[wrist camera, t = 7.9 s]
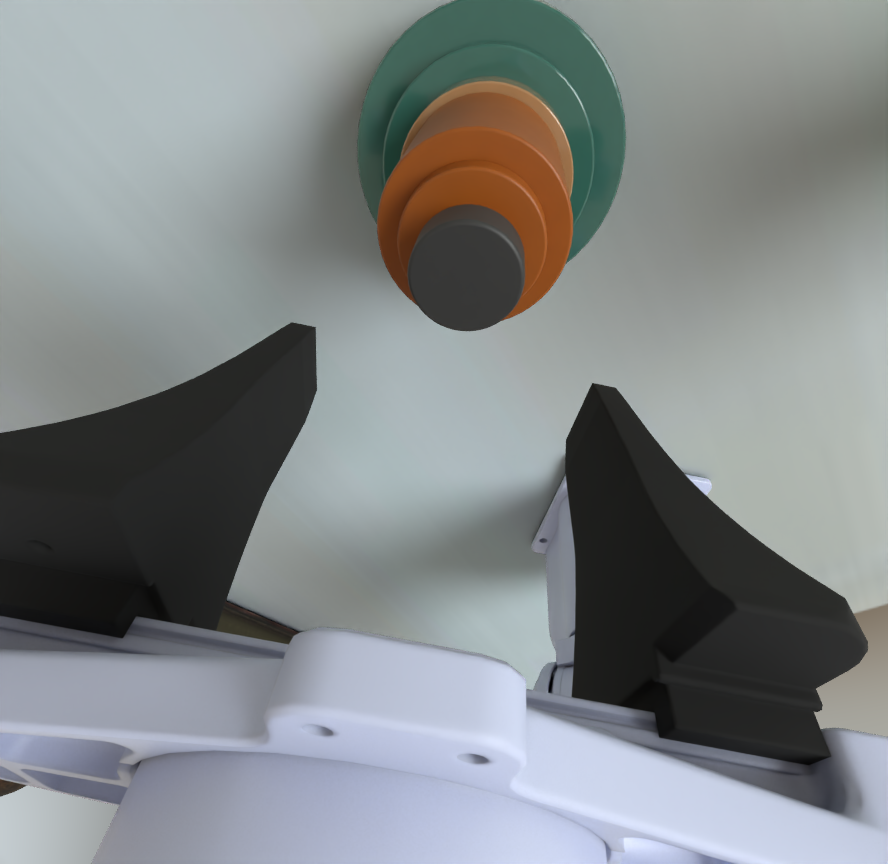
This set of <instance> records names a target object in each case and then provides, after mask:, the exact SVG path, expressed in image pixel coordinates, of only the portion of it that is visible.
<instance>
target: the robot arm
mask: <svg viewBox="0 0 888 864" xmlns="http://www.w3.org/2000/svg"><path fill="white" fill-rule="evenodd" d="M316 391H317V376H316V327H312V326H307V325H302V324H297V323H290V324H288V325H286V326H285V327H283V328H281V329H280V330H278V331H277V332H275V333H273V334H272V335H270V336H269V337H267V338H265V339H264V340H262V341H261V342H259V343H257V344H256V345H254V346H252V347H251V348H249V349H247V350H246V351H244V352H242V353H241V354H239V355H237V356H236V357H234V358H232V359H230V360H228V361H226V362H225V363H223V364H221V365H219V366H217V367H215V368H213V369H211V370H210V371H208V372H206V373H204V374H202V375H200V376H198V377H196V378H194V379H191V380H189V381H187V382H185V383H182V384H180V385H178V386H175V387H173V388H170V389H168V390H165V391H163V392H160V393H158V394H155V395H152V396H149V397H146V398H143V399H140V400H137V401H134V402H131V403H128V404H125V405H122V406H119V407H116V408H113V409H109V410H106V411H102V412H98V413H95V414H91V415H87V416H83V417H79V418H75V419H71V420H66V421H62V422H57V423H53V424H47V425H42V426H37V427H31V428H26V429H21V430H15V431H10V432H4V433H0V779H2V780H6V781H11V782H15V783H20V784H24V785H29V786H33V787H37V788H42V789H46V790H50V791H55V792H59V793H63V794H68V795H72V796H77V797H82V798H86V799H90V800H94V801H99V802H103V803H107V804H112V805H117V806H119V807H118V809H117V812H116V814H115V816H114V818H113V820H112V822H111V824H110V826H109V828H108V830H107V832H106V834H105V836H104V838H103V840H102V842H101V844H100V846H99V849H98V851H97V853H96V855H95V857H94V859H93V861H92V863H91V864H888V737H886V736H881V735H876V734H870V733H864V732H859V731H854V730H849V729H843V728H826V729H820V727H819V724H818V722H817V719H816V717H815V714H814V712H818V711H820V710H822V702H821V700H820V698H819V695H818V693H817V690H816V688H817V687H819V686H821V685H823V684H825V683H827V682H829V681H830V680H832V679H834V678H836V677H838V676H839V675H841V674H843V673H845V672H847V671H848V670H850V669H851V668H853V667H854V666H856V665H857V664H859V663H860V661H861V660H862V658H863V657H864V655H865V654H866V652H867V651H868V641H867V640H866V637H865V635H864V634H863V632H862V630H861V628H860V626H859V624H858V622H857V620H856V618H855V616H854V614H853V612H852V611H851V609H850V607H849V605H848V603H847V601H846V599H845V598H844V597H842V596H841V595H839V594H837V593H836V592H834V591H833V590H831V589H830V588H828V587H826V586H825V585H823V584H822V583H820V582H818V581H817V580H815V579H814V578H812V577H811V576H809V575H807V574H806V573H804V572H803V571H801V570H799V569H798V568H796V567H795V566H793V565H792V564H791V563H789V562H788V561H786V560H785V559H784V558H782V557H781V556H779V555H778V554H777V553H775V552H774V551H772V550H771V549H770V548H768V547H767V546H765V545H764V544H763V543H761V542H760V541H759V540H757V539H756V538H755V537H754V536H752V535H751V534H750V533H748V532H747V531H746V530H745V529H744V528H742V527H741V526H740V525H739V524H738V523H736V522H735V521H734V520H733V519H732V518H730V517H729V516H728V515H727V514H726V513H724V512H723V511H722V510H721V509H720V508H719V507H718V506H717V505H715V504H714V503H713V502H712V501H711V500H710V499H709V498H708V497H707V496H706V495H707V494H708V492H709V491H710V490H711V488H712V484H711V482H710V480H709V479H707V478H702V477H697V476H692V475H687V474H684V473H683V472H682V471H681V469H680V468H679V467H678V466H677V465H676V464H675V463H674V462H673V460H672V459H671V458H670V457H669V456H668V455H667V453H666V452H665V451H664V450H663V449H662V447H661V446H660V445H659V444H658V442H657V441H656V440H655V439H654V437H653V436H652V435H651V434H650V432H649V431H648V430H647V428H646V427H645V426H644V424H643V423H642V422H641V420H640V419H639V418H638V416H637V415H636V414H635V412H634V411H633V410H632V408H631V407H630V406H629V404H628V403H627V402H626V400H625V399H624V398H623V396H622V395H621V394H620V393H619V391H618V390H617V389H616V388H614V387H609V386H604V385H599V384H594V383H592V385H591V387H590V389H589V392H588V394H587V396H586V398H585V400H584V402H583V405H582V407H581V409H580V411H579V413H578V415H577V418H576V420H575V422H574V424H573V426H572V428H571V431H570V433H569V435H568V437H567V439H566V463H565V474H566V475H565V477H564V479H563V481H562V483H561V485H560V487H559V489H558V491H557V493H556V495H555V497H554V499H553V501H552V503H551V505H550V507H549V509H548V512H547V514H546V516H545V518H544V520H543V522H542V524H541V526H540V528H539V530H538V532H537V534H536V536H535V538H534V540H533V542H532V550H533V551H534V552H537V553H542V554H546V573H547V596H548V619H549V632H550V637H551V641H552V644H553V646H554V648H555V650H556V662H551V663H547V664H546V665H545V666H544V667H543V669H542V670H541V672H540V675H539V678H538V679H537V681H536V683H535V686H534V689H533V690H530V689H526V679H525V678H524V677H523V676H522V675H521V674H520V673H519V672H518V671H517V670H515V669H514V668H513V667H512V666H510V665H509V664H508V663H507V662H505V661H502V660H499V659H496V658H492V657H489V656H486V655H483V654H479V653H474V652H469V651H463V650H458V649H453V648H447V647H442V646H437V645H431V644H426V643H421V642H415V641H410V640H405V639H399V638H394V637H389V636H383V635H378V634H373V633H367V632H362V631H357V630H351V629H343V628H328V627H319V628H315V629H311V630H308V631H304V632H301V633H298V634H296V635H294V636H293V638H292V640H291V642H290V643H289V645H288V644H283V643H278V642H272V641H267V640H262V639H256V638H251V637H245V636H240V635H235V634H229V633H224V632H219V631H216V629H217V626H218V623H219V620H220V617H221V614H222V611H223V608H224V605H225V602H226V599H227V596H228V593H229V590H230V588H231V585H232V582H233V579H234V576H235V573H236V571H237V568H238V565H239V562H240V560H241V557H242V554H243V552H244V549H245V546H246V544H247V541H248V538H249V536H250V533H251V530H252V528H253V526H254V523H255V521H256V518H257V516H258V513H259V511H260V508H261V506H262V503H263V501H264V499H265V496H266V494H267V492H268V490H269V488H270V486H271V484H272V482H273V481H274V479H275V477H276V475H277V473H278V471H279V469H280V468H281V466H282V464H283V462H284V460H285V458H286V457H287V455H288V453H289V451H290V449H291V447H292V446H293V444H294V442H295V440H296V438H297V436H298V434H299V433H300V431H301V429H302V427H303V425H304V423H305V421H306V418H307V416H308V413H309V411H310V408H311V405H312V402H313V399H314V397H315V394H316ZM813 711H814V712H813Z"/></svg>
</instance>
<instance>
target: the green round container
mask: <svg viewBox="0 0 888 864" xmlns="http://www.w3.org/2000/svg"><path fill="white" fill-rule="evenodd" d="M481 92H491V93H499V94H503V95H507V96H510V97H513V98H515V99H517V100H519V101H521V102H523V103H524V104H526V105H527V106H529V107H530V108H532V109H533V110H534V111H535V112H536V113H537V114H538V115H539V116H540V117H541V118H542V119H543V121H544V122H545V123H546V124H547V126H548V128H549V129H550V131H551V133H552V134H553V136H554V139H555V141H556V143H557V146H558V150H559V153H560V157H561V161H562V166H563V170H564V175H565V179H566V184H567V188H568V193H569V197H570V201H571V207H572V214H573V236H572V243H571V248H570V252H569V255H568V258H567V261H566V263H567V262H569V261H570V260H571V259H572V258H573V257H574V256H576V255H577V254H578V253H579V252H580V251H581V249H582V248H583V247H584V246H585V245H586V244H587V243H588V242H589V241H590V239H591V238H592V237H593V235H594V234H595V233H596V231H597V230H598V229H599V227H600V225H601V224H602V222H603V220H604V218H605V217H606V215H607V213H608V211H609V209H610V207H611V204H612V202H613V200H614V198H615V195H616V192H617V189H618V186H619V182H620V179H621V175H622V170H623V164H624V159H625V145H626V129H625V116H624V110H623V105H622V100H621V95H620V92H619V89H618V86H617V83H616V80H615V78H614V75H613V73H612V71H611V69H610V67H609V65H608V63H607V61H606V59H605V57H604V56H603V54H602V53H601V51H600V50H599V48H598V47H597V46H596V44H595V43H594V41H593V40H592V39H591V38H590V37H589V36H588V35H587V34H586V33H585V32H584V30H583V29H582V28H581V27H580V26H579V25H578V24H577V23H575V22H574V21H573V20H572V19H570V18H569V17H568V16H566V15H565V14H564V13H562V12H561V11H560V10H558V9H557V8H556V7H554V6H552V5H550V4H548V3H546V2H544V1H542V0H455V1H452V2H450V3H447V4H445V5H442V6H440V7H438V8H436V9H435V10H433V11H432V12H430V13H428V14H427V15H425V16H423V17H422V18H420V19H419V20H418V21H417V22H416V23H414V24H413V25H412V26H411V27H410V28H408V29H407V30H406V31H405V32H404V33H403V34H402V35H401V36H400V38H399V39H398V40H397V41H396V42H395V43H394V44H393V45H392V47H391V48H390V49H389V51H388V52H387V54H386V55H385V57H384V58H383V60H382V61H381V63H380V64H379V66H378V68H377V70H376V72H375V74H374V76H373V78H372V80H371V82H370V84H369V87H368V90H367V93H366V96H365V99H364V102H363V106H362V110H361V115H360V120H359V127H358V138H357V158H358V168H359V175H360V181H361V185H362V189H363V192H364V196H365V199H366V202H367V204H368V207H369V209H370V212H371V214H372V216H373V218H374V220H375V222H376V224H377V216H378V208H379V203H380V199H381V195H382V192H383V190H384V187H385V185H386V182H387V180H388V178H389V177H390V175H391V173H392V171H393V170H394V168H395V167H396V165H397V164H398V162H399V161H400V159H401V157H402V156H403V154H404V153H405V151H406V150H407V148H408V147H409V145H410V144H411V142H412V141H413V139H414V138H415V136H416V135H417V133H418V132H419V130H420V129H421V127H422V126H423V125H424V123H425V122H426V121H427V120H428V118H429V117H430V116H432V115H433V114H434V113H435V112H436V111H437V110H438V109H439V108H441V107H442V106H444V105H445V104H446V103H448V102H450V101H452V100H454V99H456V98H459V97H462V96H464V95H468V94H473V93H481ZM566 263H565V264H566Z"/></svg>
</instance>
